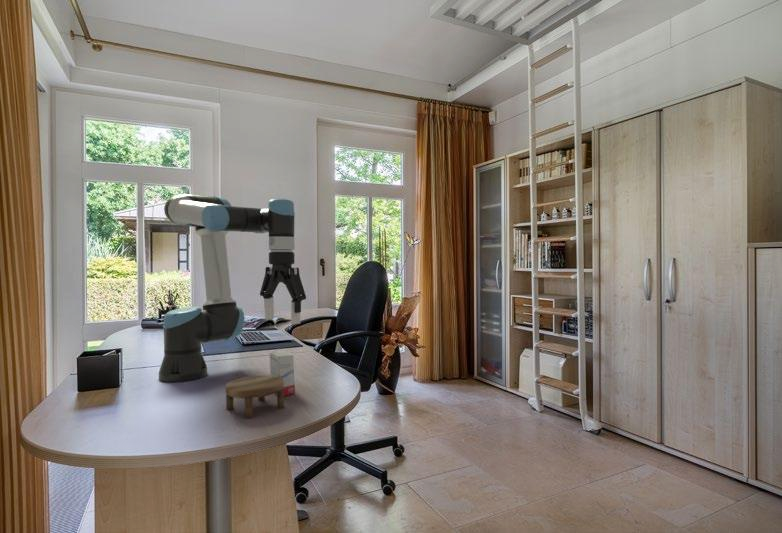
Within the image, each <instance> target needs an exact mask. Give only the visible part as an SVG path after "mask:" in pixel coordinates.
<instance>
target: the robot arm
mask: <svg viewBox="0 0 782 533" xmlns="http://www.w3.org/2000/svg"><path fill="white" fill-rule="evenodd" d="M267 204H268V206H267V208H258V207H247V206H246V207H245V206H234V205H232V204H231V203H230V201H228V200H227V199H226V198H224V197H218V196H209V195H208V196H207V195H198V194H191V193H190V194H188V193H181V194H176V195H173V196H171V197H170V198H168V199H167V200H166V202H165V204H164V206H163V207H164V208H163V210H164V215H165V217H166V218H167V219H168V220H169V222H172V223H173V224H175V225H179V226H183V227H194V228H195V233H196V235H198V236H199V237H200V244H201V255H202V256H201V257H202V264H203V265H202V266H203V275H204V277H203V278H204V286H205V297H206V298H205V299H206V300H205V302H204V303H203V304H202V308H201V307H200V306H188V307H187V306H186V307H181V308H176V309H173V310H169V311H167V312H166V313H165V314H164V317H163V325H162V328H163V352H164V353H163V359H162V360H161V365H160V367H159V371H158V380H159V381H161V382H166V383H177V382H187V381H192V380H197V379H200V378H203V377H205V376H207V375H208V366H207V364H206V360H205V358H204V355H203V351H202V344H203V343H206V344H207V343H211V342H217V341H218V342H220V341H227V340H230V339H235V338H238V337H239V336H240V335H241V333H242V331H243V330H244V326H245V313H244V311H243V309H242V307H240V306H237V301H236V300H235V299H233V298H232V292H231V290H232V289H231V282H230V281H231V280H230V271H229V261H228V260H229V259H228V251H227V250H228V249H227V241H226V235H227V234H228V233H229V232H242V233H254V234H265V233H266V234H267V233H268V250H269V251H270V252H268V264H270V265H272V266H266V267H265V274H264V277H263V281H262V284H261V287H260V288H261V289H260V293H259V295H260V297H263V299H264V320H265V321H267V320H274V319H275V317H274V316H275V315H274V314H275V312H274V310H275V309H274V308H275V306H274V304H275V302H274V299H275V298H274V293H275V292H276V291H277V290H276V289H277V288H278V285H279V284H280V283H282V284H284V285H285V287H286V289H287V291H288V293H289V295H290V298H291V299H292V300H291V302H290V323H291V325H299V324H301V312H302V301H304V300H306V299H307V296H306V292H305V288H304V286H303V283H302V278H301V275H300V268H299V267H292V265H294V264H295V253H294V251H295V246H296V245H295V214H296V213H295V205H294V202H293V200H290V199H285V198H284V199H283V198H282V199H281V198H279V199H278V198H273V199H270V200H269V201H268V203H267Z"/></svg>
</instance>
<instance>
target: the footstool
mask: <svg viewBox="0 0 782 533" xmlns="http://www.w3.org/2000/svg"><path fill="white" fill-rule="evenodd" d="M276 393H277V396H276V400H277V401H276V402H277V403H276V404H277V405H276V406H277V407H276V408H277V409H280V410H281V409H284V408H285V396H284V380H283V379H282V378H279V377H276V376H270V375H252V376H244V377H240V378H237V379H233V380H231V381H229V382H227V383H226V384H225V402H226V403H225V404H226V406H225V407H226V408H225V409H226V410H227V411H232V410H233V409H234V398H236V399H237V398H239V399H244V419H253V398H254V399H256V398H257V401H258V402H263V401H265V397H268V396H272V395H275V394H276Z"/></svg>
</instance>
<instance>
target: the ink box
mask: <svg viewBox="0 0 782 533" xmlns="http://www.w3.org/2000/svg"><path fill="white" fill-rule="evenodd" d="M294 366H295V364H294V355H293V354H292V353H290V352H288V351H287V350H283V349H282V350H278V351H277V350H276V351H270V352H269V369H270V370H269V371H270V373H269V374H270V375H269V376H276V377H279V378H282V379H283V380H284V397H285V396H289V395H292V394H295V393H296V387H295V386H296V385H295V367H294ZM275 394H277V393H275Z"/></svg>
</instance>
